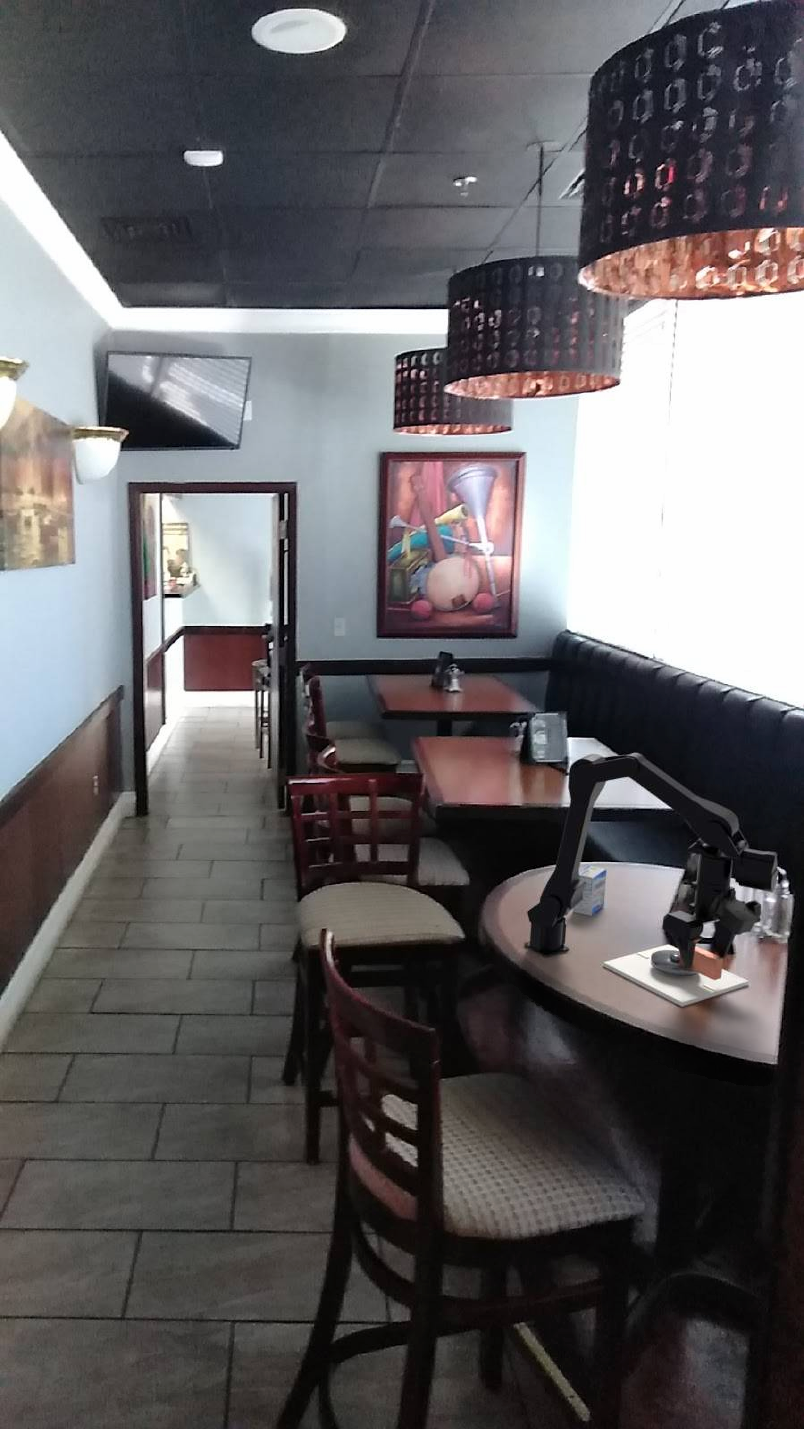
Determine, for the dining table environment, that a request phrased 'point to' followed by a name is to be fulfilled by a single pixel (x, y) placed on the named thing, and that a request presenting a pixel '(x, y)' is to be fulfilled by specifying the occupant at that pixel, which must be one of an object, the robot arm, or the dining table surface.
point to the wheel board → (672, 979)
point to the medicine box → (592, 890)
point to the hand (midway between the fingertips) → (705, 962)
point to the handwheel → (701, 964)
